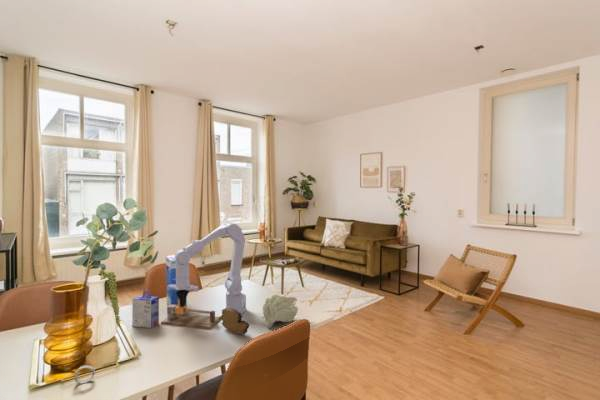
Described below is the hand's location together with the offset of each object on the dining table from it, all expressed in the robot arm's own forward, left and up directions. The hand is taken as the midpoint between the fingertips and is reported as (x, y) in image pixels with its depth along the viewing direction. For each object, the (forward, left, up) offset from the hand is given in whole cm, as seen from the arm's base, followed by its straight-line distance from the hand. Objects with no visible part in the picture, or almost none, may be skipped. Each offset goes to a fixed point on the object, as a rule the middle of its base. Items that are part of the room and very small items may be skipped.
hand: (183, 305), depth 138 cm
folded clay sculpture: (-43, -8, -7) cm, 45 cm away
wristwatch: (+5, +46, -7) cm, 47 cm away
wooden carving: (-27, +5, -7) cm, 29 cm away
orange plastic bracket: (+1, 0, -3) cm, 4 cm away
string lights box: (+13, -14, -7) cm, 20 cm away
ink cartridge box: (+14, +7, -7) cm, 17 cm away
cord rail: (-4, 0, -7) cm, 8 cm away
